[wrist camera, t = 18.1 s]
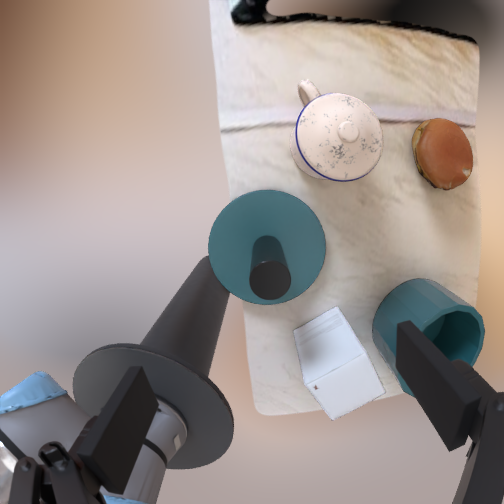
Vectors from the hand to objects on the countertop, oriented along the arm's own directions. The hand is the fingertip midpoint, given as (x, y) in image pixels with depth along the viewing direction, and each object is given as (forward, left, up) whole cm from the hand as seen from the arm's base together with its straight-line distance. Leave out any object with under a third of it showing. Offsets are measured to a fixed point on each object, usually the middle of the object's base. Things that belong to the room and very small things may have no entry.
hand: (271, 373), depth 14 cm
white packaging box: (+7, -14, -26) cm, 30 cm away
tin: (+20, -14, -26) cm, 36 cm away
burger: (+26, +10, -26) cm, 38 cm away
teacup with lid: (+9, +14, -26) cm, 31 cm away
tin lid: (0, +1, -25) cm, 25 cm away
